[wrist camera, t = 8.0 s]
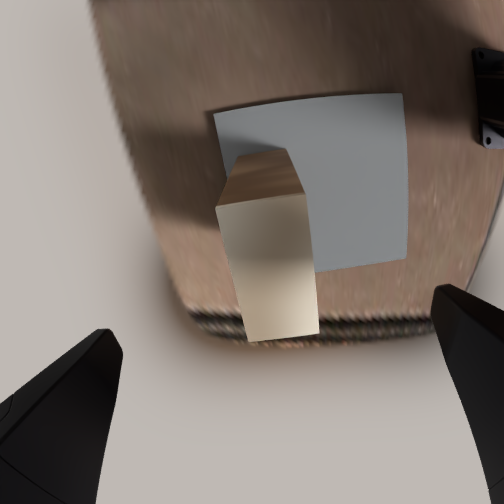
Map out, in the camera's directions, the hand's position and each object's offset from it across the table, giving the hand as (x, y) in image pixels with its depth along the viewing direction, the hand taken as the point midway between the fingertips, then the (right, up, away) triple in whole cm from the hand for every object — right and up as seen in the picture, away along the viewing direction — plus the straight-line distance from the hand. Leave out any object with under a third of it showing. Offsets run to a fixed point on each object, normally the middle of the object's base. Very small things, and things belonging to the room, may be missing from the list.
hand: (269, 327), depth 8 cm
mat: (+3, +5, +9) cm, 11 cm away
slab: (+1, +5, +9) cm, 10 cm away
